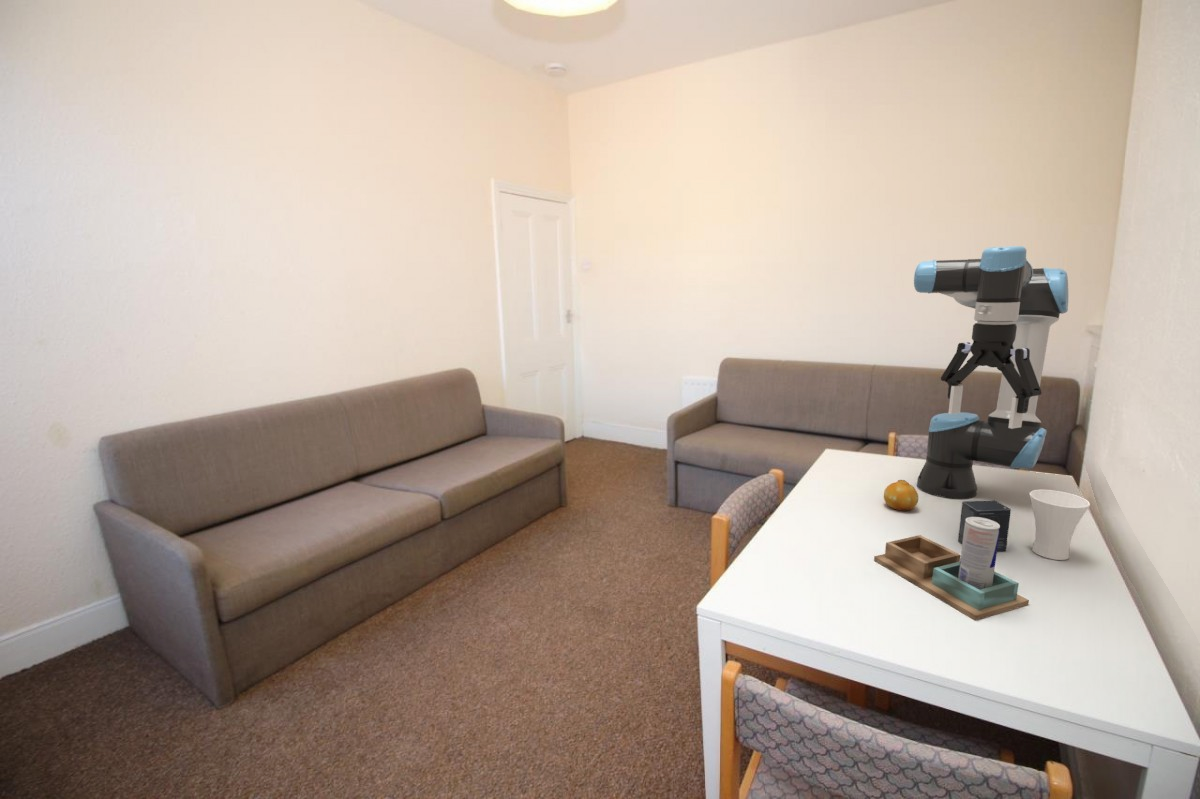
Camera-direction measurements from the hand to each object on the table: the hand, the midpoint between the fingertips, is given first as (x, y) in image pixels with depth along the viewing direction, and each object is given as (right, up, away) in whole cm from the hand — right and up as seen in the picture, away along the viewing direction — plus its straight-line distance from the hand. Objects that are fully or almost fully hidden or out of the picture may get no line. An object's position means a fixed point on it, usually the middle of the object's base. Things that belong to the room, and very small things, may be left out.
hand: (982, 420), depth 119 cm
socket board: (-11, -34, -4) cm, 36 cm away
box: (+6, -30, +10) cm, 33 cm away
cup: (+19, -31, +6) cm, 37 cm away
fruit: (0, -26, +32) cm, 41 cm away
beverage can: (-9, -34, -10) cm, 37 cm away
